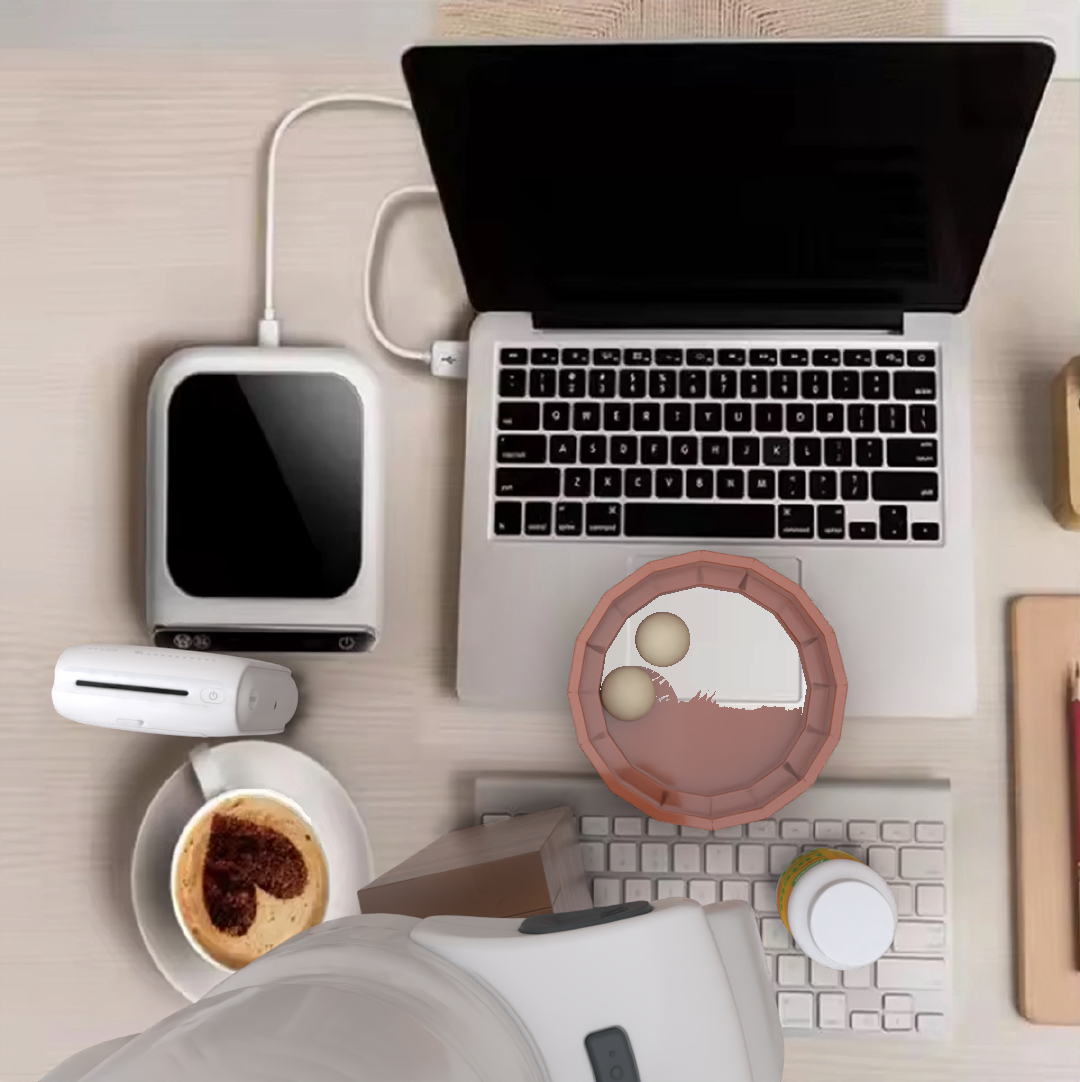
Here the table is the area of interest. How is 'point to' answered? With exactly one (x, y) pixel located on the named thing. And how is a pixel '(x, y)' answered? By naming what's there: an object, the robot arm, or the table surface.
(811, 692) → the bowl
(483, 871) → the holder
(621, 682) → the dough ball
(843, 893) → the supplement bottle
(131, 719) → the photo printer
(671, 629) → the dough ball
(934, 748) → the table surface
